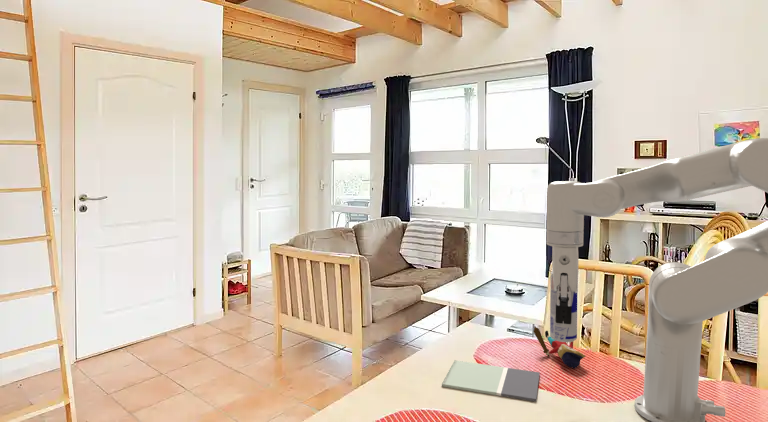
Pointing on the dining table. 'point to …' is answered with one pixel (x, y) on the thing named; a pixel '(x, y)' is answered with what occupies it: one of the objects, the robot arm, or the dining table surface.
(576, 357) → the toy
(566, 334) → the beverage can
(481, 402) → the dining table surface
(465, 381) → the mat
